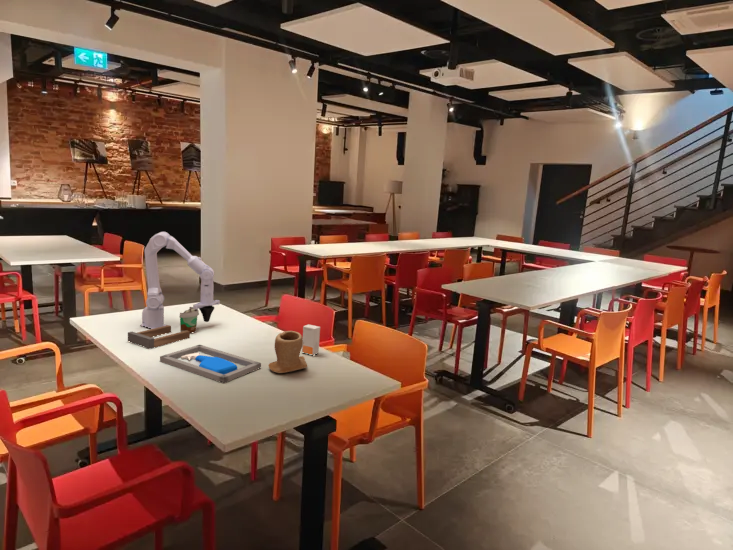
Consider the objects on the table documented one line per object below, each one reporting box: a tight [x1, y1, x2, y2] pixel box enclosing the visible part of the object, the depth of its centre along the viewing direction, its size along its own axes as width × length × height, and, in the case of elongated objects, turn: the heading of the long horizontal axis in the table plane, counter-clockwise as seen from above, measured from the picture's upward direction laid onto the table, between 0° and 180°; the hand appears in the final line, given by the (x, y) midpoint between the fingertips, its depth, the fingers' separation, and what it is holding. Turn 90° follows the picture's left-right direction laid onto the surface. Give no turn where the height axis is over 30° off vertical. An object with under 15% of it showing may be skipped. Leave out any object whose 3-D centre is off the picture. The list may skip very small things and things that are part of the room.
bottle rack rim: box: [159, 344, 262, 384], centre depth 184 cm, size 33×19×2 cm, turn 61°
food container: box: [179, 306, 200, 334], centre depth 222 cm, size 12×6×10 cm, turn 179°
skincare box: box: [301, 323, 321, 355], centre depth 204 cm, size 6×4×12 cm
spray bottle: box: [180, 352, 238, 375], centre depth 184 cm, size 3×11×24 cm
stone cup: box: [268, 330, 309, 374], centre depth 184 cm, size 15×12×15 cm
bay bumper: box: [127, 331, 155, 349], centre depth 200 cm, size 14×2×4 cm, turn 61°
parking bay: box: [136, 324, 191, 348], centre depth 209 cm, size 14×18×3 cm
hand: (206, 321), depth 230 cm, fingers closed
